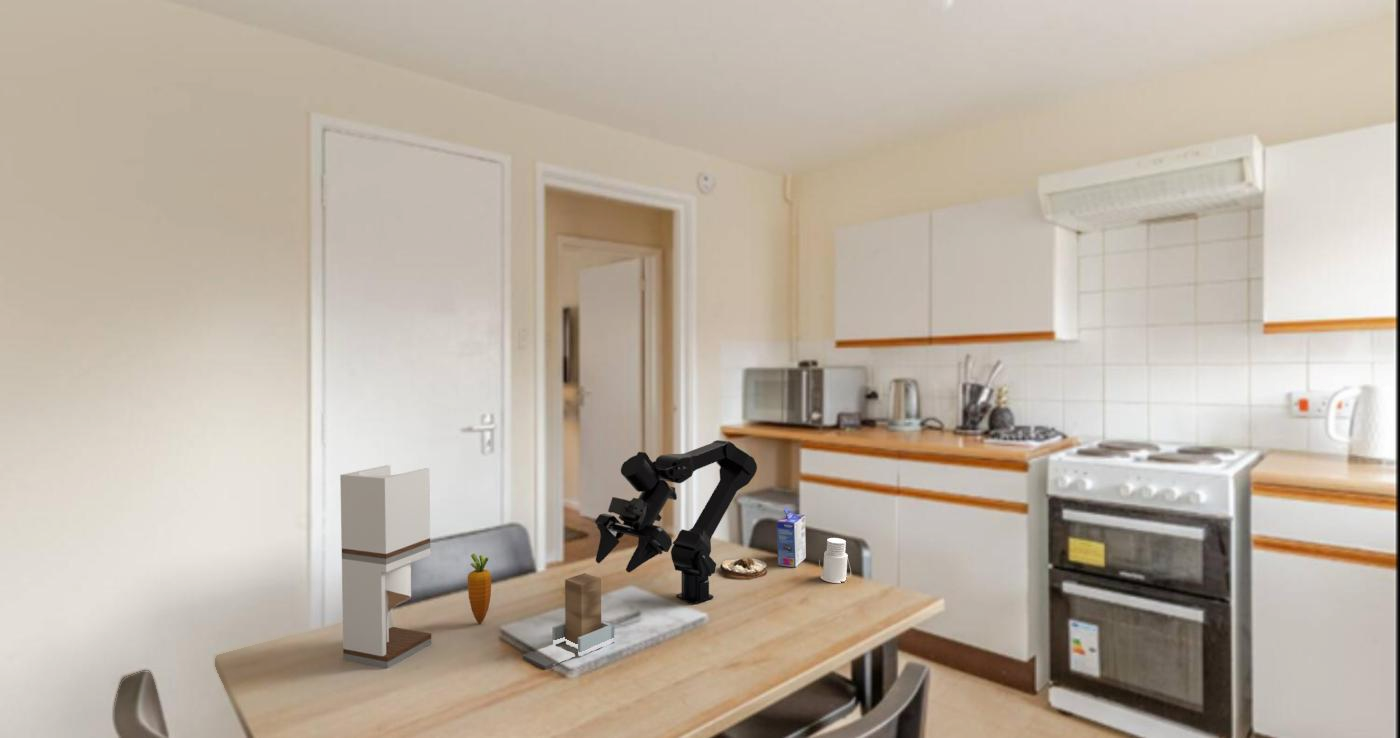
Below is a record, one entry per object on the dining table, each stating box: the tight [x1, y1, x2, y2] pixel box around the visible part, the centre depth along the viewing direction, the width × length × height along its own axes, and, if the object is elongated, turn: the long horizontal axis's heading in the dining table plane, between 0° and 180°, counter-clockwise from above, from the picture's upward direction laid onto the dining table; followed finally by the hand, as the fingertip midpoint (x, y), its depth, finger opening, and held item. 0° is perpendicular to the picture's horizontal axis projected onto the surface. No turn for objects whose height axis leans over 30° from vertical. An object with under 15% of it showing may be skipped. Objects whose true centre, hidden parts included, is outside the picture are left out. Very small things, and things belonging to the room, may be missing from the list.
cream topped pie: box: [719, 557, 769, 580], centre depth 184 cm, size 15×15×4 cm
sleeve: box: [522, 619, 615, 670], centre depth 137 cm, size 16×9×4 cm, turn 139°
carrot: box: [467, 553, 492, 625], centre depth 149 cm, size 5×5×15 cm
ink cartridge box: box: [776, 507, 807, 568], centre depth 192 cm, size 10×6×14 cm, turn 155°
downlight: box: [818, 537, 852, 584], centre depth 178 cm, size 8×7×10 cm
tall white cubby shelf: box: [339, 464, 432, 669], centre depth 136 cm, size 11×11×35 cm
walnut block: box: [564, 572, 602, 644], centre depth 139 cm, size 5×5×13 cm
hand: (611, 566), depth 145 cm, fingers open, 9 cm apart
